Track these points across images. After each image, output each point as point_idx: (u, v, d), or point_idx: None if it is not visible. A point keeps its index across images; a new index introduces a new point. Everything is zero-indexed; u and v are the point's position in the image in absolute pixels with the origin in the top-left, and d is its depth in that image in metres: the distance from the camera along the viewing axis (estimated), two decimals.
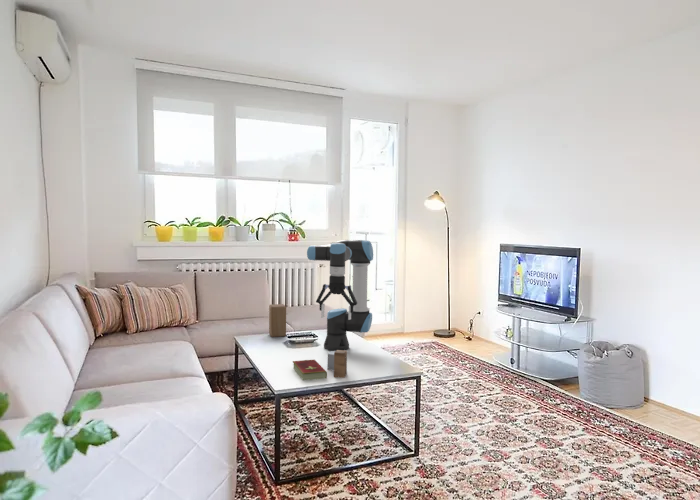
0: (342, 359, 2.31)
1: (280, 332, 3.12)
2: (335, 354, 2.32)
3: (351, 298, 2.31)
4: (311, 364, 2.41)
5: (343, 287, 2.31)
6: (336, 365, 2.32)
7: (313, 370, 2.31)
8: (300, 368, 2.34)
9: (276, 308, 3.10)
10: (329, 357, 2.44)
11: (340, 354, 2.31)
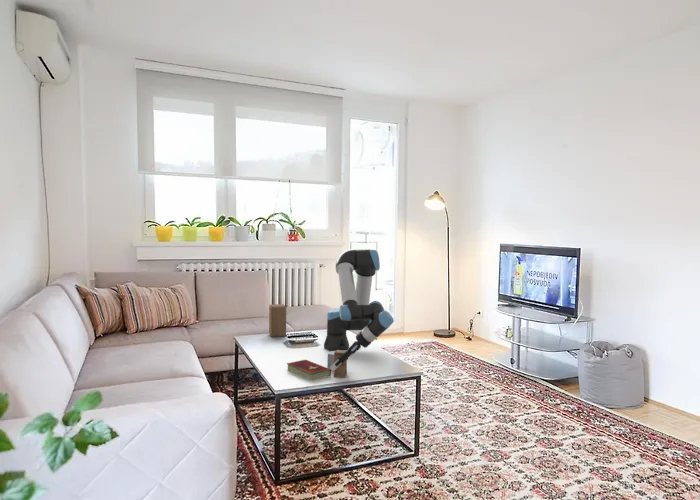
0: None
1: (280, 332, 3.12)
2: (335, 354, 2.32)
3: None
4: (308, 364, 2.41)
5: None
6: None
7: (317, 369, 2.32)
8: (302, 369, 2.32)
9: (276, 308, 3.10)
10: (329, 357, 2.44)
11: (340, 354, 2.31)
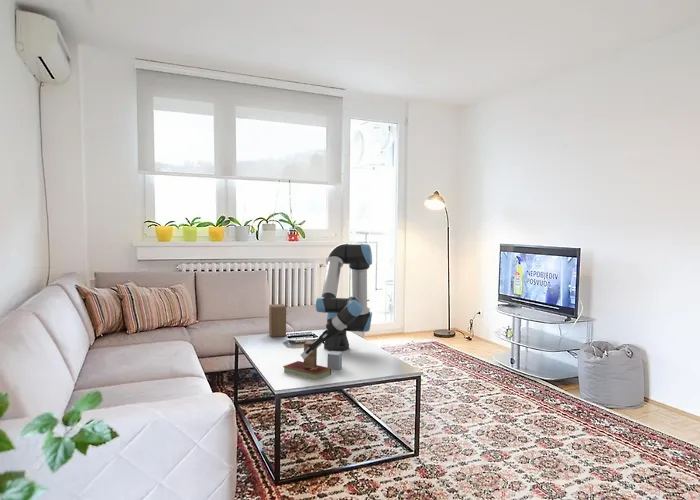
0: None
1: (280, 332, 3.12)
2: (305, 345, 2.35)
3: None
4: None
5: None
6: None
7: (319, 369, 2.33)
8: (304, 370, 2.31)
9: (276, 308, 3.10)
10: (329, 357, 2.44)
11: None
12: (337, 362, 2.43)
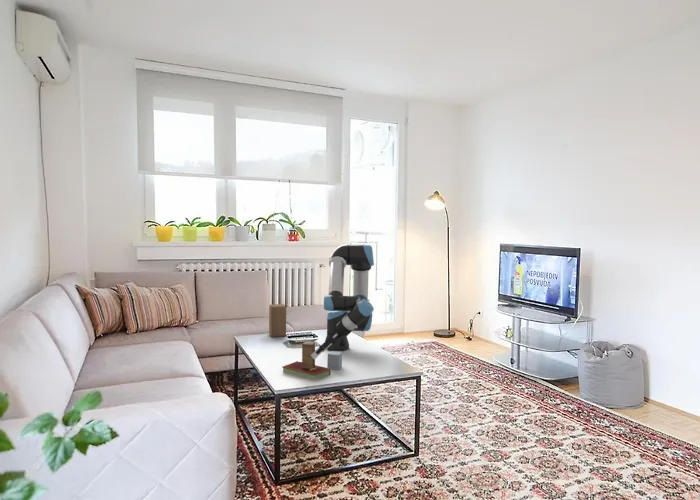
0: (310, 350, 2.33)
1: (280, 332, 3.12)
2: (303, 345, 2.34)
3: None
4: None
5: None
6: (304, 356, 2.34)
7: (318, 370, 2.33)
8: (303, 371, 2.31)
9: (276, 308, 3.10)
10: (329, 357, 2.44)
11: (308, 345, 2.33)
12: (337, 362, 2.43)
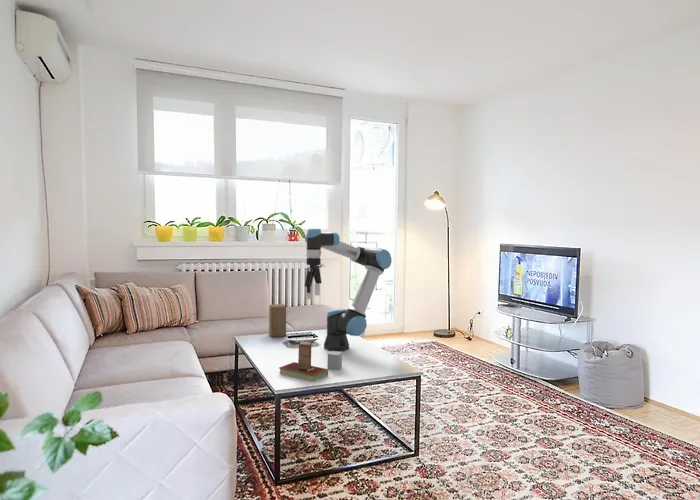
0: (306, 350, 2.32)
1: (280, 332, 3.12)
2: (300, 345, 2.32)
3: (319, 276, 2.63)
4: None
5: (317, 267, 2.59)
6: (300, 357, 2.33)
7: (316, 370, 2.31)
8: (301, 371, 2.29)
9: (276, 308, 3.10)
10: (329, 357, 2.44)
11: (304, 345, 2.32)
12: (337, 362, 2.43)
